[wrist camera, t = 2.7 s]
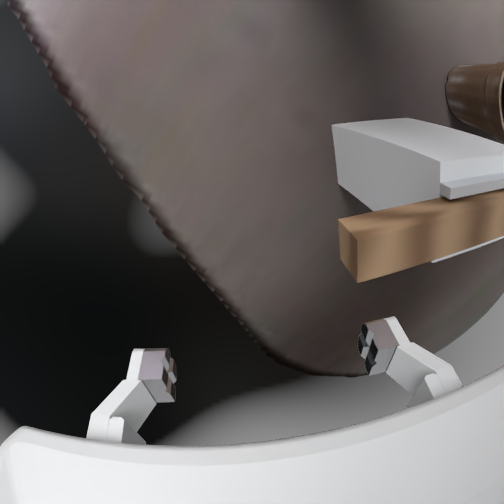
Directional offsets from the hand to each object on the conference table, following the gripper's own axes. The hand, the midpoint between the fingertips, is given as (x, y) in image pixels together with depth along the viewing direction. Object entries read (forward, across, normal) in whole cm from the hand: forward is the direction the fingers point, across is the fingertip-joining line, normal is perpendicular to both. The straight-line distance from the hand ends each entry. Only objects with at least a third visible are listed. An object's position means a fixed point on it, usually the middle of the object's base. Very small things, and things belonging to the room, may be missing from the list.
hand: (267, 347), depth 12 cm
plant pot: (+40, -45, -10) cm, 61 cm away
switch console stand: (+38, -23, +2) cm, 44 cm away
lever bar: (+12, -19, +1) cm, 22 cm away
